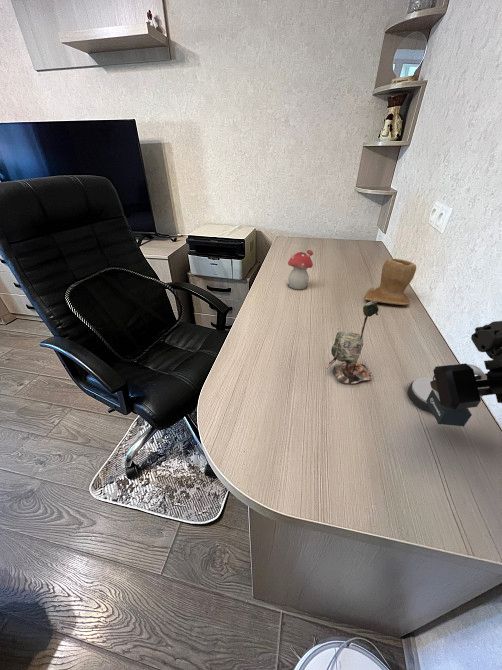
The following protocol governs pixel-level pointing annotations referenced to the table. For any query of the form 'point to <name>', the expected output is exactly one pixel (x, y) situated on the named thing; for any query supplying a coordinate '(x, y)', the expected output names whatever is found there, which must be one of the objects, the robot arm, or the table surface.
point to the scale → (420, 393)
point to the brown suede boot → (393, 282)
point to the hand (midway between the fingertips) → (453, 382)
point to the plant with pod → (351, 351)
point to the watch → (451, 415)
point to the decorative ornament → (300, 269)
